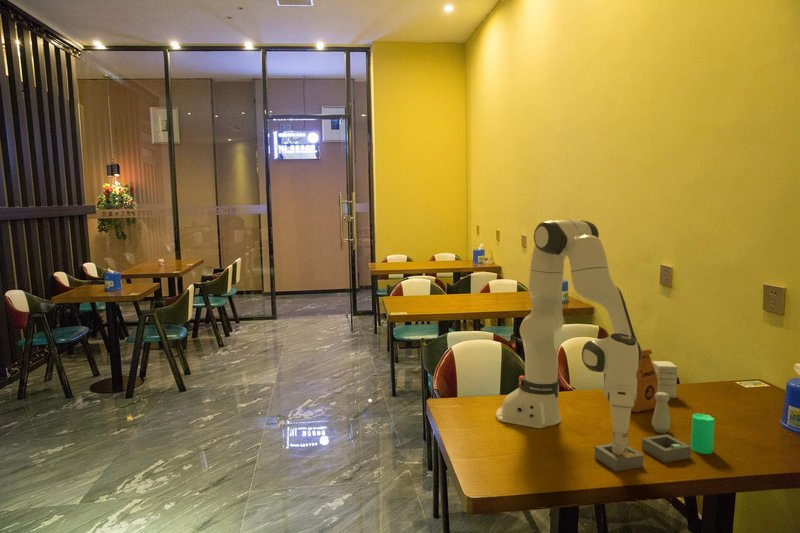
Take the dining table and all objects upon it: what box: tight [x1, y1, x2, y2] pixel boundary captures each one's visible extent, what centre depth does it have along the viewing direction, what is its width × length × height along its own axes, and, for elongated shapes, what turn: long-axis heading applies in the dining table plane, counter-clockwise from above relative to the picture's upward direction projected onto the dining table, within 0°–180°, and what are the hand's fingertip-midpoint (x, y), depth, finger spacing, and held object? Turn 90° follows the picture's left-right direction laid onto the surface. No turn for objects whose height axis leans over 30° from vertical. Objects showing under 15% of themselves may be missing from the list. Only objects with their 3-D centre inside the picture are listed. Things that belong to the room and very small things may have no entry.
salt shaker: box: [651, 392, 671, 434], centre depth 188 cm, size 6×6×13 cm
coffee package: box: [631, 348, 658, 413], centre depth 208 cm, size 10×12×22 cm
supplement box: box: [651, 360, 678, 399], centre depth 223 cm, size 7×7×13 cm
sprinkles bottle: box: [611, 422, 630, 457], centre depth 165 cm, size 5×5×14 cm
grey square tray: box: [641, 433, 692, 463], centre depth 171 cm, size 10×10×4 cm
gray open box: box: [594, 443, 645, 472], centre depth 166 cm, size 10×10×4 cm
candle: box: [690, 411, 715, 455], centre depth 173 cm, size 6×6×12 cm
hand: (617, 436), depth 166 cm, fingers open, 8 cm apart
